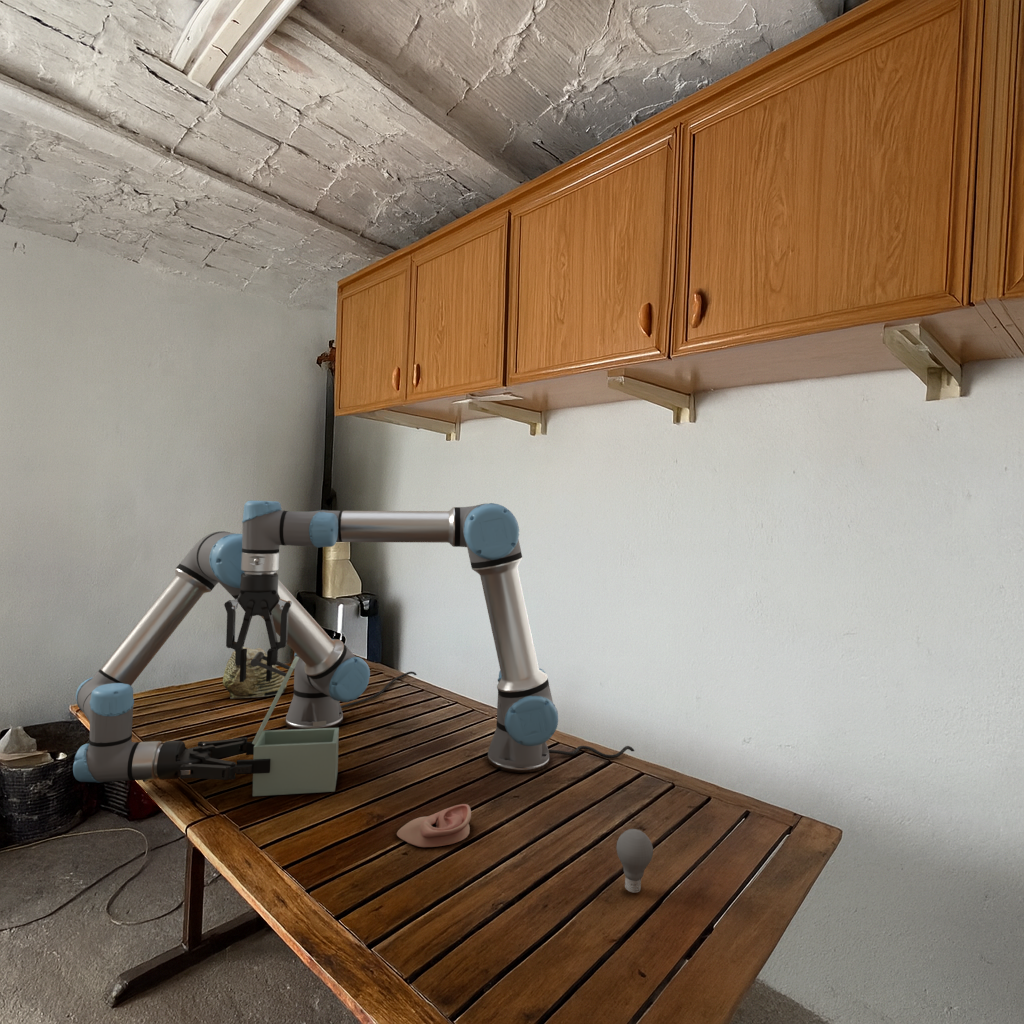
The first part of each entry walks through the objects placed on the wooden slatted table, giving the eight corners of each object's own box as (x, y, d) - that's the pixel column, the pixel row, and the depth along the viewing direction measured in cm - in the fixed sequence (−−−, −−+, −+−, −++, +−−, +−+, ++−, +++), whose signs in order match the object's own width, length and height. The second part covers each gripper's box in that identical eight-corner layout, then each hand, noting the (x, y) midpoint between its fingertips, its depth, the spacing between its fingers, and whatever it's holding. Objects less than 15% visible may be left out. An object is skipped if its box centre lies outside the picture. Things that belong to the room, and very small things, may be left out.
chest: (337, 772, 145) (338, 727, 145) (334, 791, 136) (336, 743, 136) (260, 777, 142) (261, 730, 141) (252, 796, 133) (253, 746, 132)
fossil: (218, 695, 195) (220, 647, 195) (278, 685, 208) (279, 640, 207) (228, 703, 189) (230, 653, 188) (289, 692, 201) (290, 645, 201)
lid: (299, 657, 143) (262, 642, 141) (294, 668, 134) (254, 652, 132) (263, 729, 142) (226, 714, 140) (255, 745, 132) (215, 730, 131)
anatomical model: (391, 821, 117) (413, 793, 128) (390, 842, 117) (412, 813, 128) (460, 832, 114) (476, 802, 125) (459, 853, 114) (475, 822, 126)
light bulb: (610, 879, 108) (613, 822, 108) (644, 879, 109) (647, 822, 109) (619, 902, 102) (622, 840, 102) (655, 901, 103) (658, 840, 103)
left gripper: (176, 756, 144) (280, 753, 149) (141, 802, 122) (264, 796, 127) (178, 724, 144) (282, 721, 148) (142, 764, 122) (265, 759, 127)
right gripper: (211, 573, 131) (207, 685, 131) (300, 575, 134) (296, 684, 135) (220, 569, 138) (216, 675, 138) (304, 571, 142) (300, 674, 142)
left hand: (273, 756), depth 138 cm, fingers closed on chest, 9 cm apart
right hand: (255, 679), depth 137 cm, fingers open, 5 cm apart
